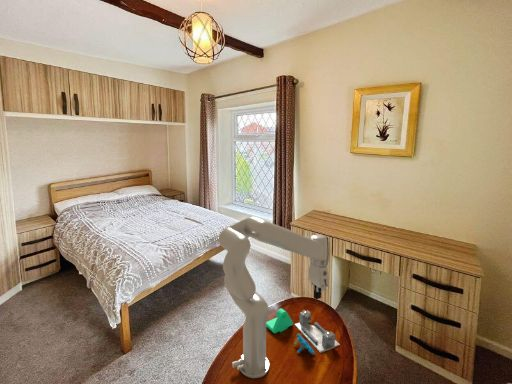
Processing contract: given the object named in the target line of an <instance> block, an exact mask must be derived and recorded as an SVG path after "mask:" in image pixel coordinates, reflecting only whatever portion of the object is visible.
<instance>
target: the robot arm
mask: <svg viewBox="0 0 512 384" xmlns="http://www.w3.org/2000/svg"><path fill="white" fill-rule="evenodd" d="M249 238H252V239H254V240H256V241H258V242H261V243H263V244H264V243H265V244H267V245H271V246H272V247H273V246H274V247H276V248H279V249H282V250H283V251H284V250H285V251H288V252H291V253H294V254H297V255H301V256H304V257H306V258H309V260H310V261H309V266H308V280H309V282H310V283H311V285H312V289H313V299H315V300H319V299H321V298H322V292H326V290H327V288H328V287H329V285H330V284H329V283H330V281H329V280H330V279H329V278H330V275H329V268H328V266H327V264H328V263H327V261H328V260H327V259H328V238H327V236H326V235H323V234H313V235H309V236H308V235H302V234H299V233H297V232H295V231H293V230H290V229H288V228H286V227H283V226H280V225H278V224H275V223H274V222H273V223H272V222H269V221H267V220H264V219H261V218H259V217H256V216H250V217H246V218H244V219H242V220H239V221H237V222H235V223H234V224H232V225H230V226H227V227H226V228H224V229H223V230H221V232H220V233H219V235H218V242H219V245H220V246H221V248H223V249H224V250H226V251H227V253H226V254H225V257H224V259H223V262H222V263H223V264H222V270H223V272H224V278H223V284H224V286H225V288H226V290H227V292H228V293H229V295H230V297H231V299H232V301H233V302H234V304H235V305H236V306H237V308H238V309H240V311H241V312H242V313H243V314H244V316H245V317H244V318H245V319H244V320H245V321H244V322H243V326H242V353H243V354H242V355H240V358H239V359H238V360H235V361H232V362H231V366H232V368H237V371H240V372H241V374H242V375H244V376H245V377H247V378H251V379H258V378H262V377H264V376H266V375H267V374H268V372H269V370H270V361H269V359H268V358H267V326H266V322H268V321H267V319H268V315H269V304H268V302H267V301H266V299H265V298H264V297H263V296H262V295H260V294H259V293H258V292H257V291H256V290H257V288H256V287H257V286H256V282H255V281H254V279H253V277H252V276H251V274H250V271H249V270H248V268H247V265H246V259H247V257H248V255H249V253H250V249H251V242H250V239H249Z"/></svg>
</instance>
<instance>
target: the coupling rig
mask: <svg viewBox="0 0 512 384" xmlns="http://www.w3.org/2000/svg"><path fill="white" fill-rule="evenodd" d="M311 319H312V313H311V312H310V311H309V310H305V309H304V310H302V311H301V312H299V322H297V323H294V325H295V327H296V328H297V329H298V330H299V331H300V332H301V334H302V335H303V336H304V337H305V338H306V339H307V341H308V342H309V343H310V345H312V346H313V347H314V348H315V349H316V350H317V352H318V353H320V354H321V353H324V352H326V351H330V350H332V349H334V348H336V347H339V346H340V343H339V342H338V341H337V340H336V334H335V333H334V332H333V331H329V330H326V329H324V328H323V327H322V326H321V325H320V324H319V323H318V322H316V321H315V322H314V323H313V324H314V325H312V323H311V321H312V320H311Z"/></svg>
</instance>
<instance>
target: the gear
mask: <svg viewBox="0 0 512 384" xmlns="http://www.w3.org/2000/svg"><path fill="white" fill-rule="evenodd" d="M297 343H299V344H300V348H299V349H297V351H296V352H297V353H298V354H300V353H301V352H302V350H303V349H306V350H307V351H308V352H309V354H312V355H315V351H314V349H313V347H312V346H311V344H309V341H308V340H305V338H303V336H302V335H301V334H300V333H297V334H296V341H295V342H294V344H293V345H295V346H296V345H297Z"/></svg>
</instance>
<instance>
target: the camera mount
mask: <svg viewBox="0 0 512 384" xmlns="http://www.w3.org/2000/svg"><path fill="white" fill-rule="evenodd" d="M293 325H294V322H293V319H292V318H291V316H290V315H289V314H288V312H287V311H286V310H284V309H283V308H279V309H277V311H276V317H274V318H273V319H270V320H268V321H266V328H267V329H269V330H270V331H271V332H272V333H274V334H277V333H278V332H279V333H282V332H284V331H286V330H287V329H288V328H290V327H291V326H293Z"/></svg>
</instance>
